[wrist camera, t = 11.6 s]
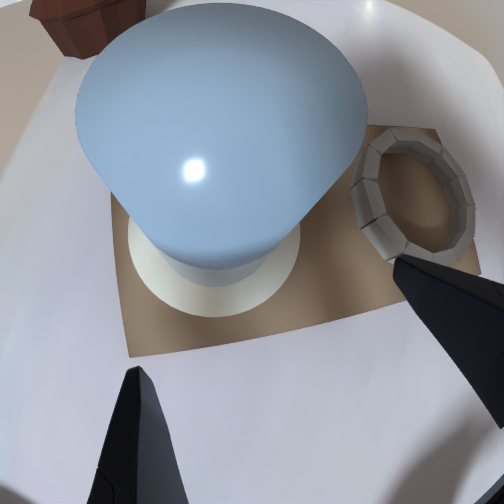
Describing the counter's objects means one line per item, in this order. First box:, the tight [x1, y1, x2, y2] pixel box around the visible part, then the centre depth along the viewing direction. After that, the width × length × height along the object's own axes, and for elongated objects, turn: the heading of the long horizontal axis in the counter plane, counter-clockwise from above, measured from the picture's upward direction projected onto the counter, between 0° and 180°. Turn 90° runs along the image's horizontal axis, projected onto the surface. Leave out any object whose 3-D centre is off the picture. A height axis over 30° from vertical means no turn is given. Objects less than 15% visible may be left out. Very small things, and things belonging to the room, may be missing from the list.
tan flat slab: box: [111, 125, 481, 358], centre depth 18 cm, size 26×13×3 cm, turn 101°
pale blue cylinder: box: [75, 3, 367, 287], centre depth 12 cm, size 9×6×12 cm
